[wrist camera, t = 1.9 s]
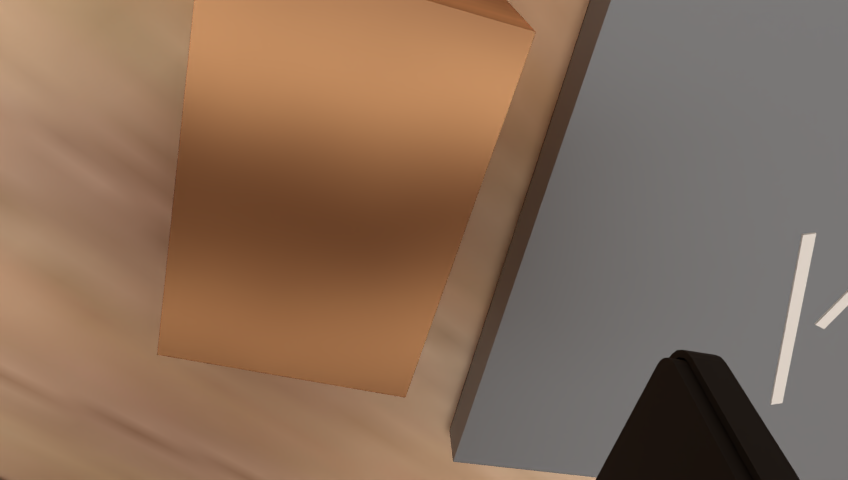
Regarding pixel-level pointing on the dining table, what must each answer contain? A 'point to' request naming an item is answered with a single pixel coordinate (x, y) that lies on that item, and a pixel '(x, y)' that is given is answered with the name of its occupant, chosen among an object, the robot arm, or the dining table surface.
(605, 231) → the board
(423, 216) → the block
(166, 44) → the dining table surface
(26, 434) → the dining table surface
